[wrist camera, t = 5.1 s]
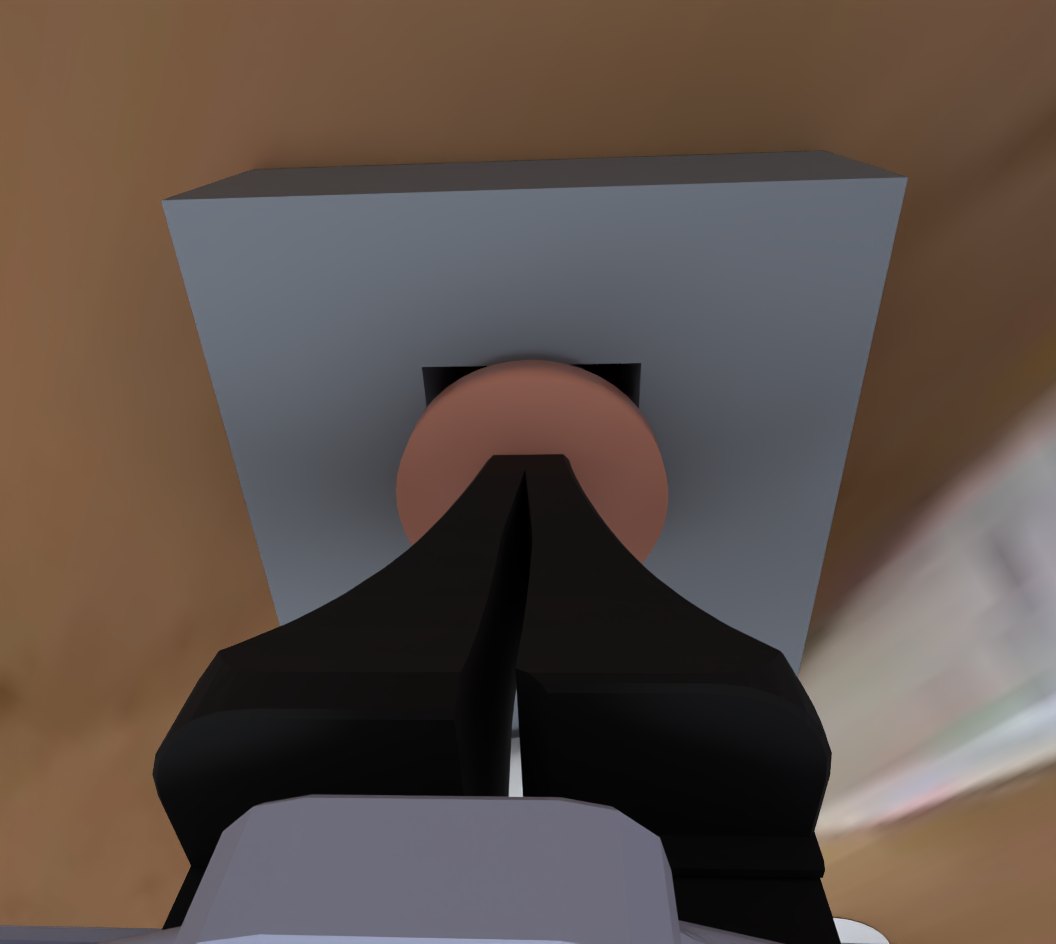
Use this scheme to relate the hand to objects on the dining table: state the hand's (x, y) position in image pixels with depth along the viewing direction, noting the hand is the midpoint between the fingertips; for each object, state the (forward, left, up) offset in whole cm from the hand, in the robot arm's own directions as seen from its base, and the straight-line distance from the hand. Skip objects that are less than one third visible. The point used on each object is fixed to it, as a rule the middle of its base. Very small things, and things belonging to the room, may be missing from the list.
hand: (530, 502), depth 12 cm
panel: (0, +5, -6) cm, 7 cm away
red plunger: (0, 0, -4) cm, 4 cm away
